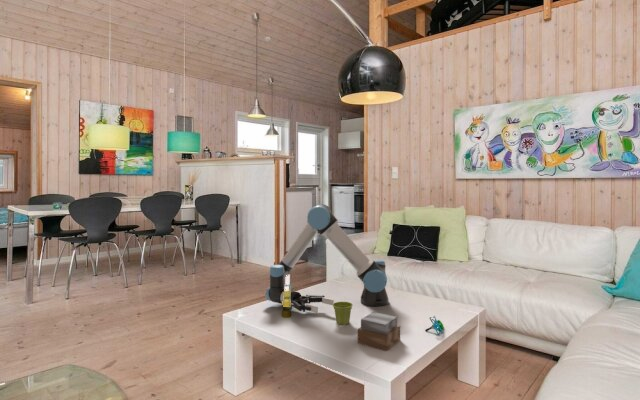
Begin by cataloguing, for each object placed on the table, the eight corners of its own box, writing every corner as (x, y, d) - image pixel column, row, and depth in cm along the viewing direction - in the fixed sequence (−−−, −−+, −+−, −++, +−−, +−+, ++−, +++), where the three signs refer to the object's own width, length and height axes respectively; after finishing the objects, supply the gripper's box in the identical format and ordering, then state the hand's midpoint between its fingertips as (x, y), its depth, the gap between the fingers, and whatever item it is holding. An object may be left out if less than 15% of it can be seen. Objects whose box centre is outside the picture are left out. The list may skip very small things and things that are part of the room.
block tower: (372, 333, 174) (372, 310, 174) (400, 340, 167) (400, 316, 166) (357, 343, 164) (357, 319, 163) (386, 351, 156) (386, 326, 156)
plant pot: (339, 327, 181) (339, 309, 180) (329, 321, 189) (329, 303, 189) (356, 324, 185) (356, 305, 185) (346, 317, 193) (345, 300, 193)
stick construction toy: (440, 332, 169) (431, 315, 172) (426, 339, 171) (418, 322, 175) (449, 331, 178) (440, 315, 182) (435, 338, 181) (427, 322, 185)
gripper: (306, 299, 215) (339, 306, 203) (275, 312, 195) (310, 321, 182) (306, 285, 215) (339, 292, 202) (275, 297, 194) (310, 305, 182)
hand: (325, 306), depth 192 cm, fingers open, 13 cm apart
